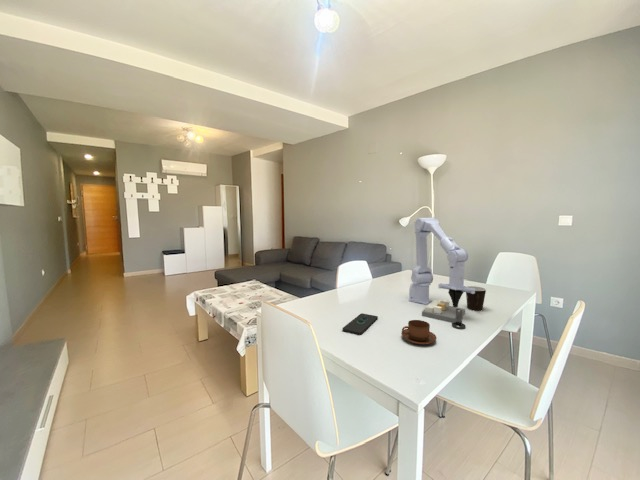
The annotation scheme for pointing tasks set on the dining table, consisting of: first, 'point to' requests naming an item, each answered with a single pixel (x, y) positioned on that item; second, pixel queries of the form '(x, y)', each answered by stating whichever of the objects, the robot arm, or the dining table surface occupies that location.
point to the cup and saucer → (418, 332)
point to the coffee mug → (476, 298)
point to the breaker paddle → (442, 306)
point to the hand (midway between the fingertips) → (455, 306)
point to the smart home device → (360, 324)
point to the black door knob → (458, 320)
